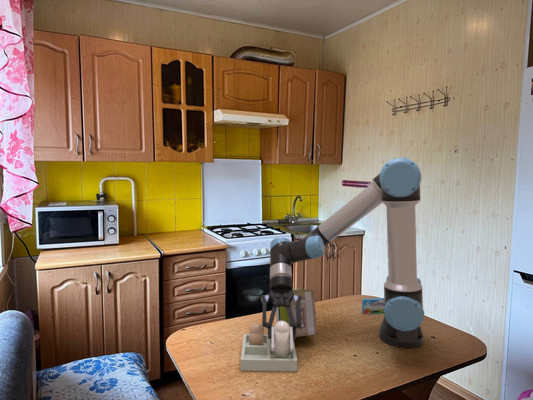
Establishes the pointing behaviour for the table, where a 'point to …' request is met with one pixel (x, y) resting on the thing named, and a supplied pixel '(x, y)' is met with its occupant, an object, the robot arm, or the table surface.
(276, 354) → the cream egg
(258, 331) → the carton
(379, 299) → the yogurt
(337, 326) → the table surface
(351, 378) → the table surface
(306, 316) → the tea box
